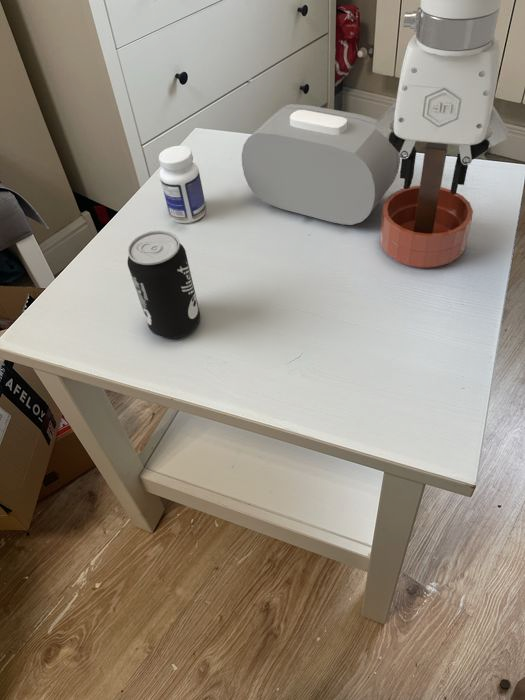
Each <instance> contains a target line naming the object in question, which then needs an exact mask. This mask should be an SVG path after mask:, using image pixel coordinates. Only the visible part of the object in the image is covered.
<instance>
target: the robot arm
mask: <svg viewBox="0 0 525 700" xmlns="http://www.w3.org/2000/svg"><path fill="white" fill-rule="evenodd" d="M501 3H502V0H420V3H419V4H420V7H417V9H416V10H413V11H412V12H410V11H409V12H405V13H404V17H403V28H410V29H411V30H413V31H414V32H413V33H415V34H414V35H413V36H412V37H411V38H410V40H409V41H408V43H407V47H406V50H405V53H404V57H403V61H402V65H401V70H400V76H399V81H398V88H397V93H396V100H395V101H394V103H392V104H391V105H390V107H388V108H387V109H386V110H385V111H384V113H383V114H382V115H380V117H379V118H378V119H377V120H378V121H377V123H376V126H375V127H376V129H377V130H378V131H379V132H380V133H381V134H382V135H383V136H385V137H386V138H388V139H389V142H390V143H391V144H392V145H393V147H394V148H395V149H396V150H397V151H398V152H399V156H400V159H401V161H400V171H399V179H404V182H403V189H408V188H410V187H411V185H412V181H413V178H414V173H415V165H416V157H417V152H418V151H417V150H418V149H416V146H415V144H416V142H421V143H427V142H431V143H442V144H448V145H456V146H458V150H459V153H457V156H456V161H455V164H454V170H453V175H452V180H451V186H450V190H451V191H450V193H452V194H456V193H458V191H457V190H458V186H464V185H465V181H466V177H467V173H468V169H469V165H470V164H471V163H472V161H473V160H475V159H476V158H478V157H479V156H481V155H482V154H484V153H486V152H487V151H488V150H489V149H490V148H493V147H495V146H497V145H498V144H500V143H503V142H504V141H506V140H507V139H508V137H509V136H508V134H509V128H508V127H507V126H506V124H505V122H504V121H503V119H502V117H501V116H500V114H499V112H498V111H497V108H496V107H495V105H494V101H495V94H496V88H497V82H498V77H499V67H500V40H499V38H498V37H497V36H495V33H496V32H495V31H496V27H497V22H498V17H499V12H500V8H501ZM488 129H489V130H490V131H489V132H488Z"/></svg>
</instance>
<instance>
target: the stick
mask: <svg viewBox="0 0 525 700" xmlns="http://www.w3.org/2000/svg"><path fill="white" fill-rule="evenodd" d="M448 147H449V144H442V143H431V142H426V144H425V147H424V155H423V160H422V161H423V162H422V168H421V176H420V182H419V186H420V189H419V196H418V203H417V210H416V217H415V224H414V231H413V232H418V233H426V234H432V233H433V229H434V223H435V218H436V212H437V206H438V200H439V195H440V189H441V187H442V182H443V177H444V172H445V171H444V170H445V165H446V159H447V153H448Z"/></svg>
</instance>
